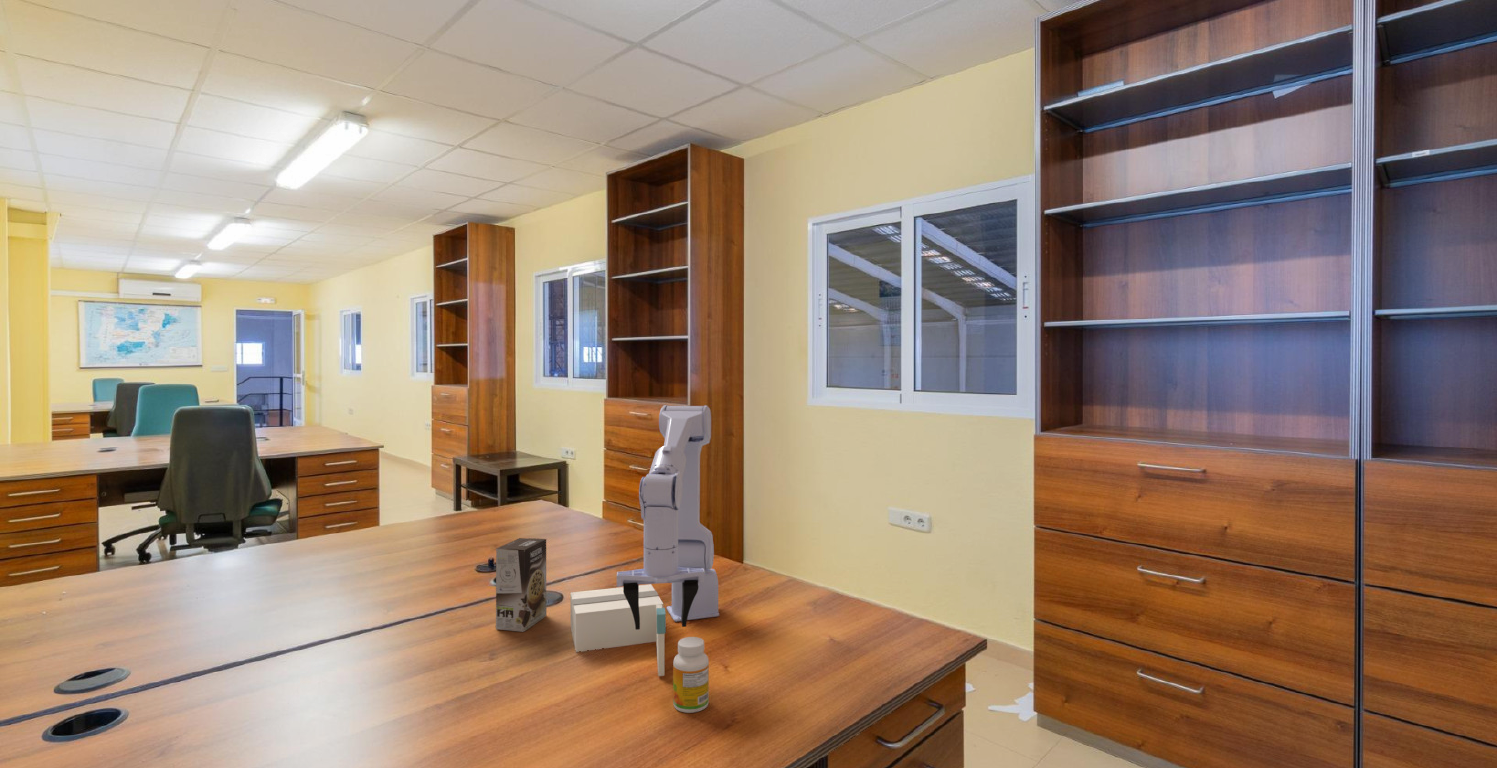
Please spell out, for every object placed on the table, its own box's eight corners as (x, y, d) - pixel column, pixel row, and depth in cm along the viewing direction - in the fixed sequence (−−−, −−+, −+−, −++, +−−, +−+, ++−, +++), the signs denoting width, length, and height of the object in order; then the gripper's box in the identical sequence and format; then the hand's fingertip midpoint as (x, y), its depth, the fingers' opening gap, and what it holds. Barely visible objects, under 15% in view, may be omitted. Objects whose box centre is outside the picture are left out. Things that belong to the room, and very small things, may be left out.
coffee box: (524, 632, 130) (524, 549, 129) (494, 630, 131) (494, 548, 131) (548, 615, 139) (547, 538, 138) (519, 613, 140) (519, 536, 140)
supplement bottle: (673, 696, 105) (673, 635, 104) (708, 695, 105) (708, 634, 105) (672, 714, 99) (672, 649, 99) (709, 713, 100) (709, 648, 100)
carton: (651, 618, 137) (651, 583, 137) (663, 640, 126) (663, 602, 126) (570, 627, 132) (570, 591, 132) (575, 652, 121) (575, 613, 121)
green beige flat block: (655, 642, 125) (655, 587, 124) (662, 641, 125) (662, 587, 125) (657, 676, 111) (657, 615, 111) (665, 675, 111) (665, 614, 111)
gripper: (615, 553, 107) (616, 638, 107) (706, 550, 109) (706, 632, 110) (617, 542, 114) (617, 621, 114) (702, 539, 116) (702, 616, 117)
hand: (660, 626), depth 113 cm, fingers open, 7 cm apart
